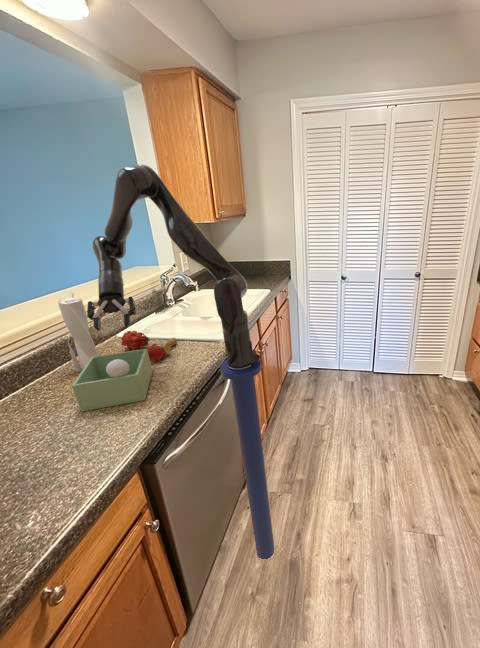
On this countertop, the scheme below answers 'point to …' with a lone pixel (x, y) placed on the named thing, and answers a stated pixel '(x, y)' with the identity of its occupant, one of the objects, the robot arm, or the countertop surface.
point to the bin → (113, 381)
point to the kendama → (160, 349)
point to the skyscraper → (78, 331)
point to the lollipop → (117, 368)
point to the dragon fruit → (134, 340)
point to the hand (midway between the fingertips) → (112, 327)
